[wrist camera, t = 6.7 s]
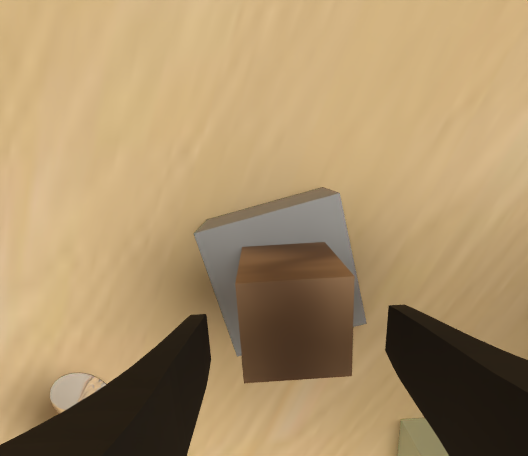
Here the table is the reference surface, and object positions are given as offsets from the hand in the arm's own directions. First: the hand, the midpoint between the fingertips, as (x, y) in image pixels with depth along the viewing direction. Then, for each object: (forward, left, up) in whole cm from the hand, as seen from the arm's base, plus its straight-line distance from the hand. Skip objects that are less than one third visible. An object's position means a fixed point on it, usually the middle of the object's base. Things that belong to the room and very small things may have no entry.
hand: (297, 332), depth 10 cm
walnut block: (0, 0, -5) cm, 5 cm away
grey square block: (0, 0, -9) cm, 9 cm away
